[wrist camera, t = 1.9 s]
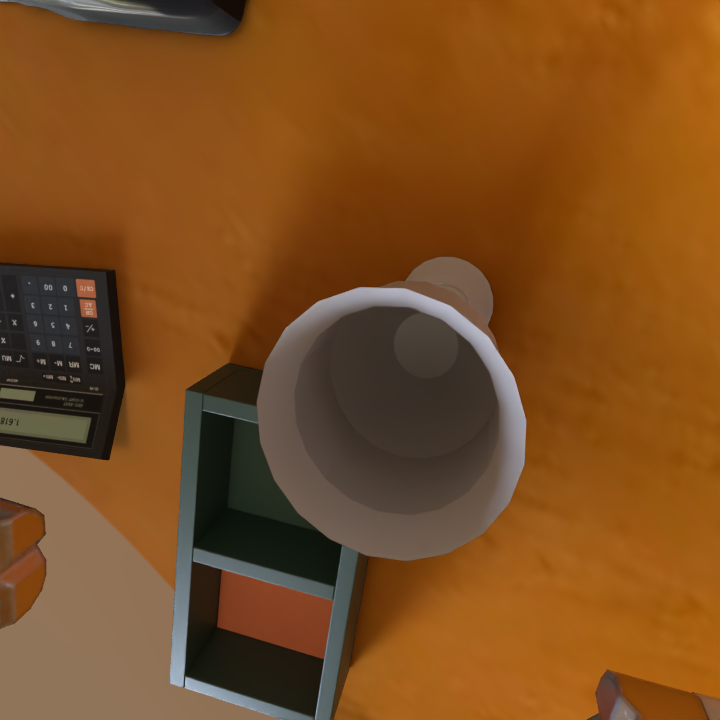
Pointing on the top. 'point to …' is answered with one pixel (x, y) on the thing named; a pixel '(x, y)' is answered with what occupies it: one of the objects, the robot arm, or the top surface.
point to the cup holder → (255, 569)
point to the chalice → (395, 414)
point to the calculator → (59, 359)
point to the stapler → (152, 13)
